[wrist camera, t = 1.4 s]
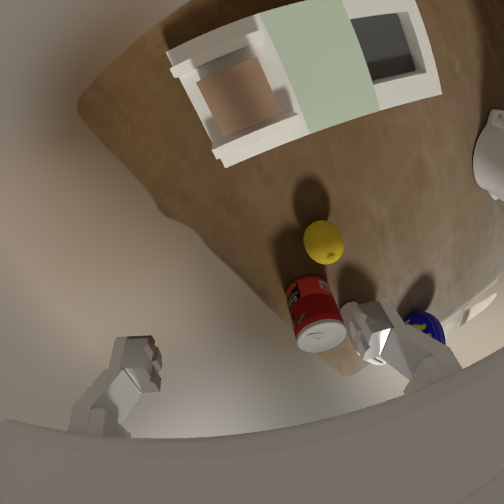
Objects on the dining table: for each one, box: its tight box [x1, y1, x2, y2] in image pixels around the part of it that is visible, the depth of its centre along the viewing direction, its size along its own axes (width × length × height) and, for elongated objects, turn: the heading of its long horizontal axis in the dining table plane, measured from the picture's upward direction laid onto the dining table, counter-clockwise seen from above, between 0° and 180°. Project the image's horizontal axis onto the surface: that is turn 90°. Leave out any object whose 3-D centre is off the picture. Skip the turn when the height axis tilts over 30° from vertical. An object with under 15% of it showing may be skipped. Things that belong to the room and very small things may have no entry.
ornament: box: [404, 312, 446, 345], centre depth 55 cm, size 11×9×15 cm
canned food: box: [286, 275, 346, 352], centre depth 47 cm, size 8×8×11 cm
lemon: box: [304, 220, 344, 264], centre depth 41 cm, size 6×6×8 cm
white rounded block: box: [340, 301, 386, 365], centre depth 52 cm, size 10×4×12 cm, turn 48°
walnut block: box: [196, 57, 281, 136], centre depth 27 cm, size 6×6×6 cm
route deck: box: [166, 0, 442, 168], centre depth 27 cm, size 32×16×6 cm, turn 113°
